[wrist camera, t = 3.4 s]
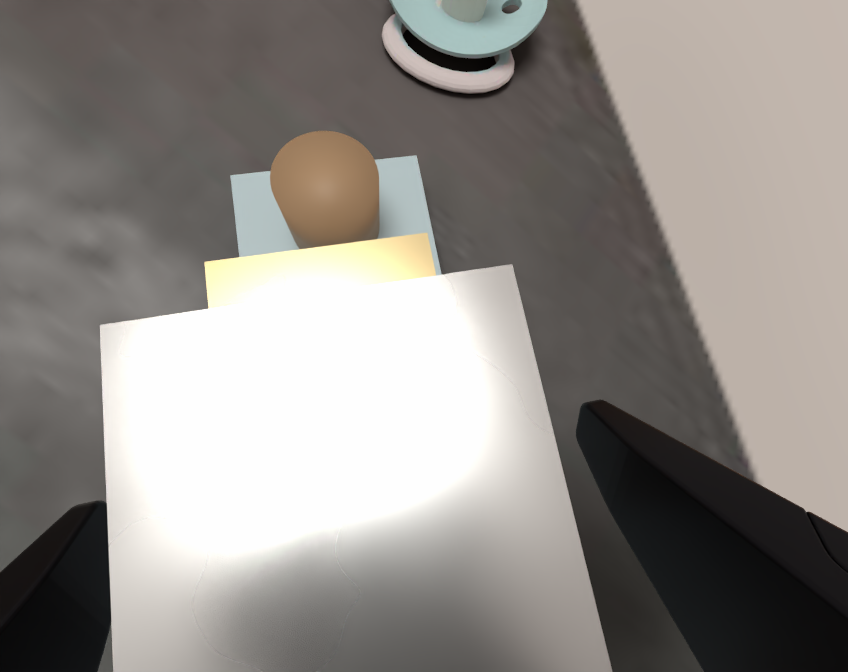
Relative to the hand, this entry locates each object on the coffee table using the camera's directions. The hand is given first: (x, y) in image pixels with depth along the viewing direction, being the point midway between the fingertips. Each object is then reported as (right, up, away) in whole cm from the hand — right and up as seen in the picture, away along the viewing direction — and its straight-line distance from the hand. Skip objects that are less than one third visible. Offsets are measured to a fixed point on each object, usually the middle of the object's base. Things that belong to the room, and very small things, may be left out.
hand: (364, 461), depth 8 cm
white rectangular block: (0, -2, +6) cm, 6 cm away
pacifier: (+3, +16, +12) cm, 21 cm away
